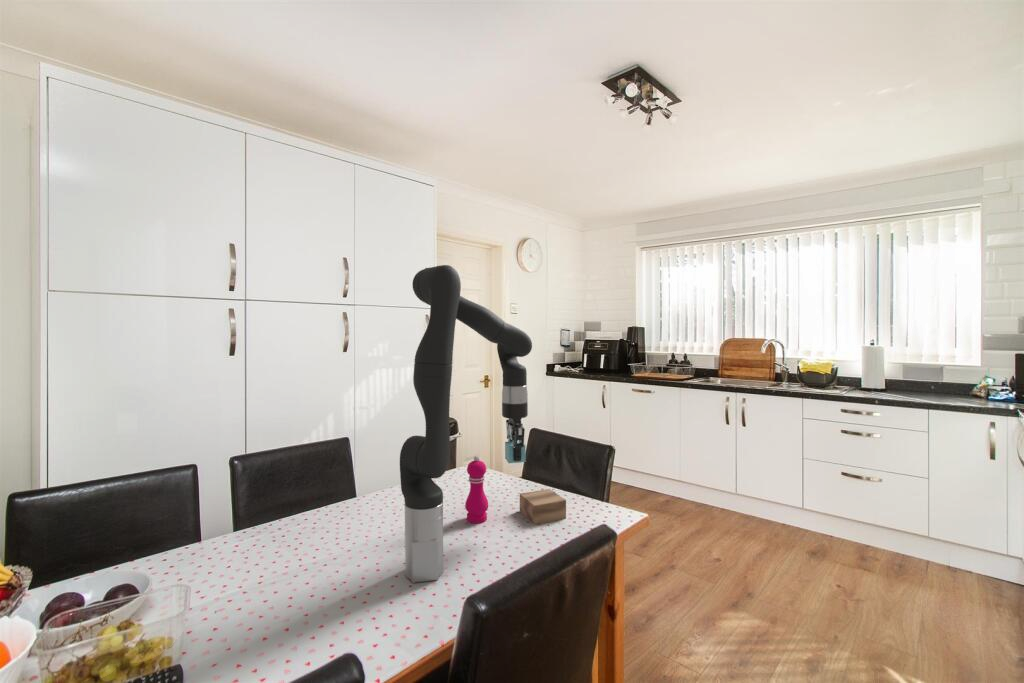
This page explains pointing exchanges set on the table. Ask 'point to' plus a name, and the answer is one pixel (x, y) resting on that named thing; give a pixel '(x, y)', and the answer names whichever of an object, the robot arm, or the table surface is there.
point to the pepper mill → (476, 492)
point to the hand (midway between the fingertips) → (515, 457)
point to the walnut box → (542, 506)
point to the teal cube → (510, 453)
